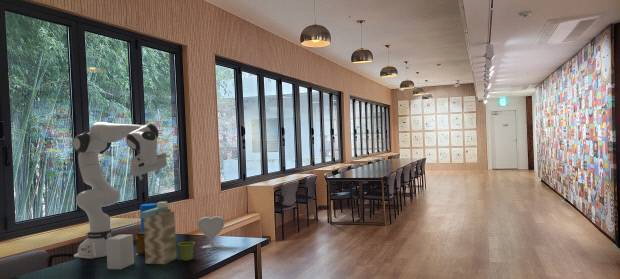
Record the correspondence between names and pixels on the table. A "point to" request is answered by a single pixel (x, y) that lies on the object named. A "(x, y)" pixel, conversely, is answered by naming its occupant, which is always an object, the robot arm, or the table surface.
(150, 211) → the teal green bar
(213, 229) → the heart sculpture
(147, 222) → the zigzag patterned block
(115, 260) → the white rectangular block
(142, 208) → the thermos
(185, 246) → the plant pot
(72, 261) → the table surface
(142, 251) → the condiment
